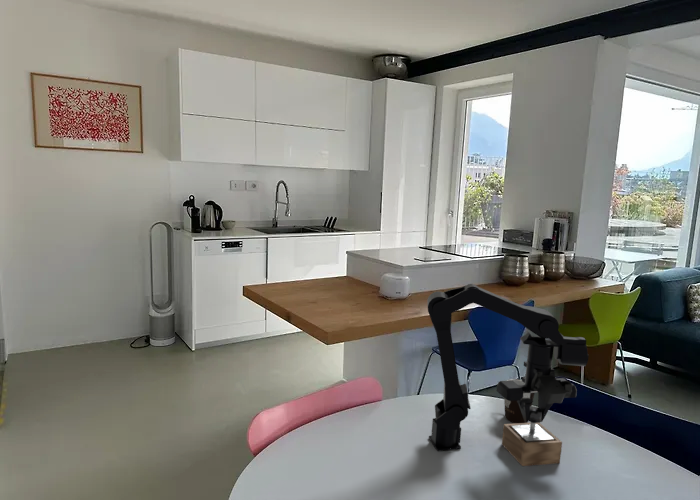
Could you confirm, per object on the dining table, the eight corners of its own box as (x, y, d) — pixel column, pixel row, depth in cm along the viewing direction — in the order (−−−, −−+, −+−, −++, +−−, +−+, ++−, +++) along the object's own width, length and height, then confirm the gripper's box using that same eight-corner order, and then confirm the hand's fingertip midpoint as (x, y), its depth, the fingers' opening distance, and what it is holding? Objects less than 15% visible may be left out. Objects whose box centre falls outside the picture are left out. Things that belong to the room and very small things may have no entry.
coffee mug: (534, 427, 138) (538, 393, 137) (502, 423, 140) (505, 389, 138) (528, 409, 150) (531, 377, 148) (498, 405, 151) (501, 374, 150)
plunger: (526, 443, 120) (529, 417, 119) (510, 427, 127) (513, 403, 126) (553, 441, 121) (556, 415, 120) (536, 426, 129) (539, 402, 128)
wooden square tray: (522, 466, 119) (524, 444, 118) (501, 444, 129) (503, 424, 128) (559, 463, 121) (562, 442, 120) (536, 441, 131) (538, 422, 130)
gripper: (522, 376, 112) (516, 440, 114) (595, 373, 116) (587, 435, 118) (498, 358, 123) (492, 417, 125) (565, 356, 126) (559, 413, 129)
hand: (533, 421), depth 124 cm, fingers closed on plunger, 4 cm apart
